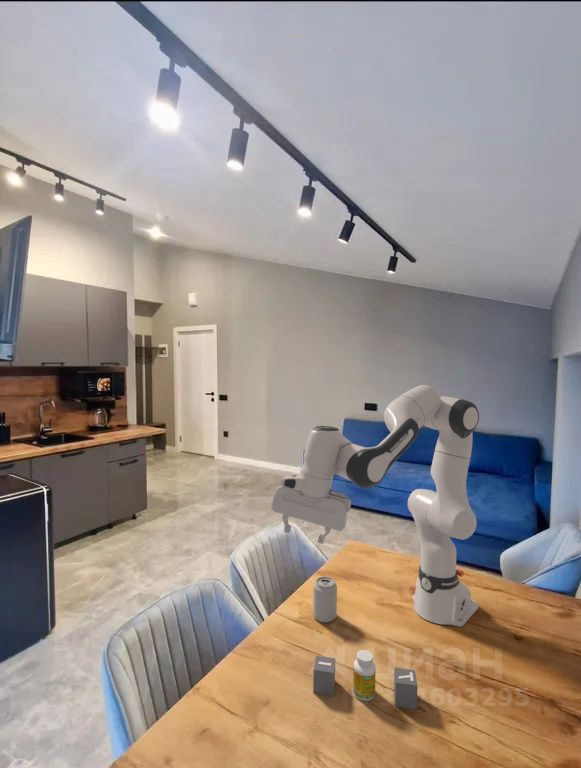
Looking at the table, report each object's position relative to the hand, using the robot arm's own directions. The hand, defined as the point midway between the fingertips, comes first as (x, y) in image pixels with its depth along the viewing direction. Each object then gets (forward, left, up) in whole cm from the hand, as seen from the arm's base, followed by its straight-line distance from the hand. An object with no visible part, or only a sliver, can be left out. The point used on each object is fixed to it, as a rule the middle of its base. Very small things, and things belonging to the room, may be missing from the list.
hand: (303, 537), depth 108 cm
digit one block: (-1, +8, -36) cm, 37 cm away
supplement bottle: (-8, +15, -36) cm, 40 cm away
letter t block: (-15, +22, -36) cm, 45 cm away
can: (-19, -14, -36) cm, 43 cm away
